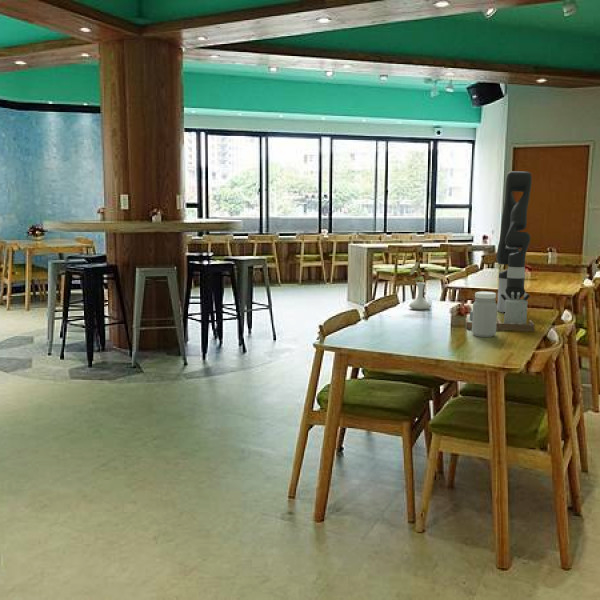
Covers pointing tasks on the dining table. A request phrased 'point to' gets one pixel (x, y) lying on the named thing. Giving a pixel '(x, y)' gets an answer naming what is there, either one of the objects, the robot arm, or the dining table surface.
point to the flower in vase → (419, 293)
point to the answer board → (508, 326)
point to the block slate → (471, 314)
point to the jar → (484, 314)
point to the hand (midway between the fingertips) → (514, 314)
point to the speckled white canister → (515, 311)
